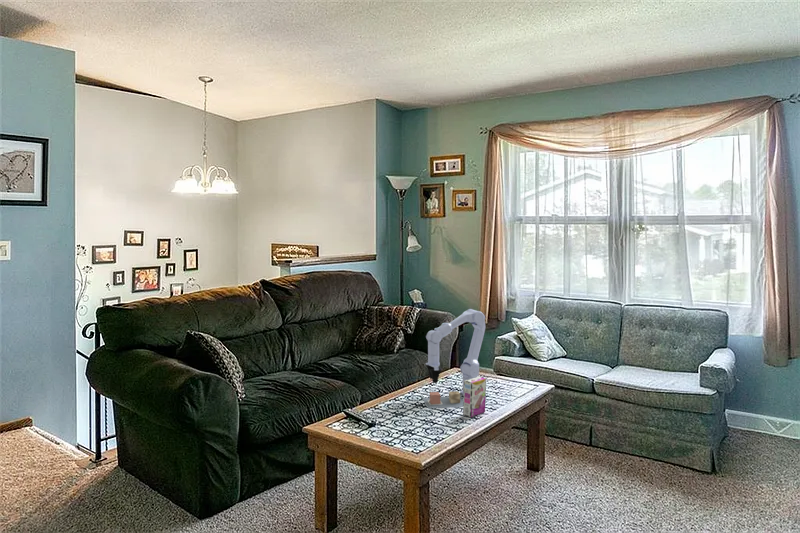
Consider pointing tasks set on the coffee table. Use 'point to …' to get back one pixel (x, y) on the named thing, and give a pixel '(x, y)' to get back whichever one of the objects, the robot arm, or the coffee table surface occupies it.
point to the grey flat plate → (443, 403)
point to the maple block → (454, 397)
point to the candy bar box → (474, 396)
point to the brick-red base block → (434, 397)
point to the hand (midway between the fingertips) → (433, 380)
